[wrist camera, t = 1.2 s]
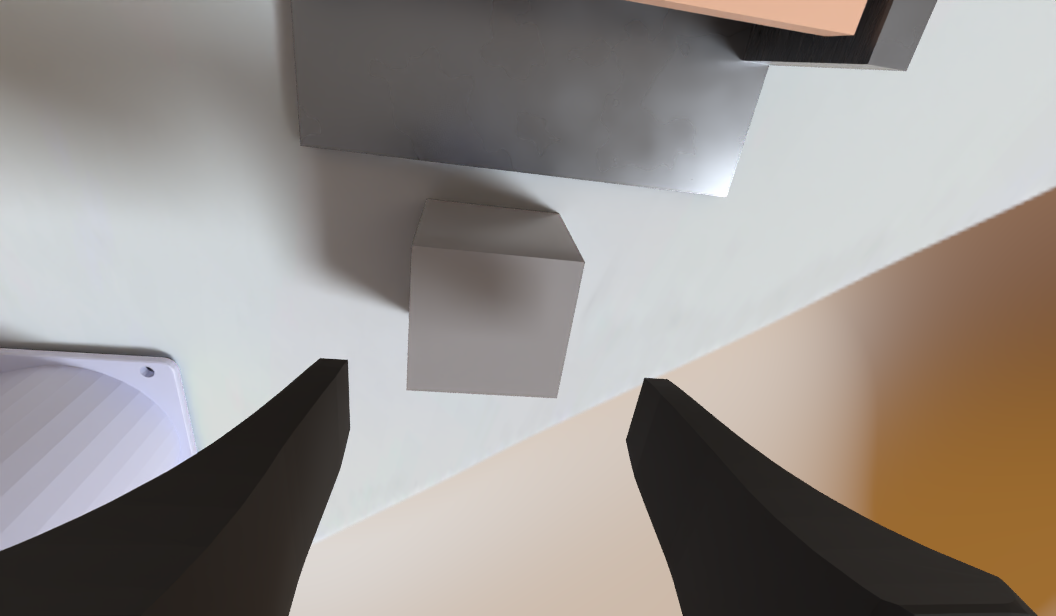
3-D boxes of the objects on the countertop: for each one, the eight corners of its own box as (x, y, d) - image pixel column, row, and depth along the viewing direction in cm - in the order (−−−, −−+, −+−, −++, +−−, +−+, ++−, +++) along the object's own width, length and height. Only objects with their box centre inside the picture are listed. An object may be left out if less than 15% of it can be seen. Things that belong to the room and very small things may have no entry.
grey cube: (421, 316, 20) (406, 390, 16) (426, 198, 18) (411, 245, 14) (539, 325, 21) (556, 398, 17) (558, 213, 19) (584, 262, 14)
